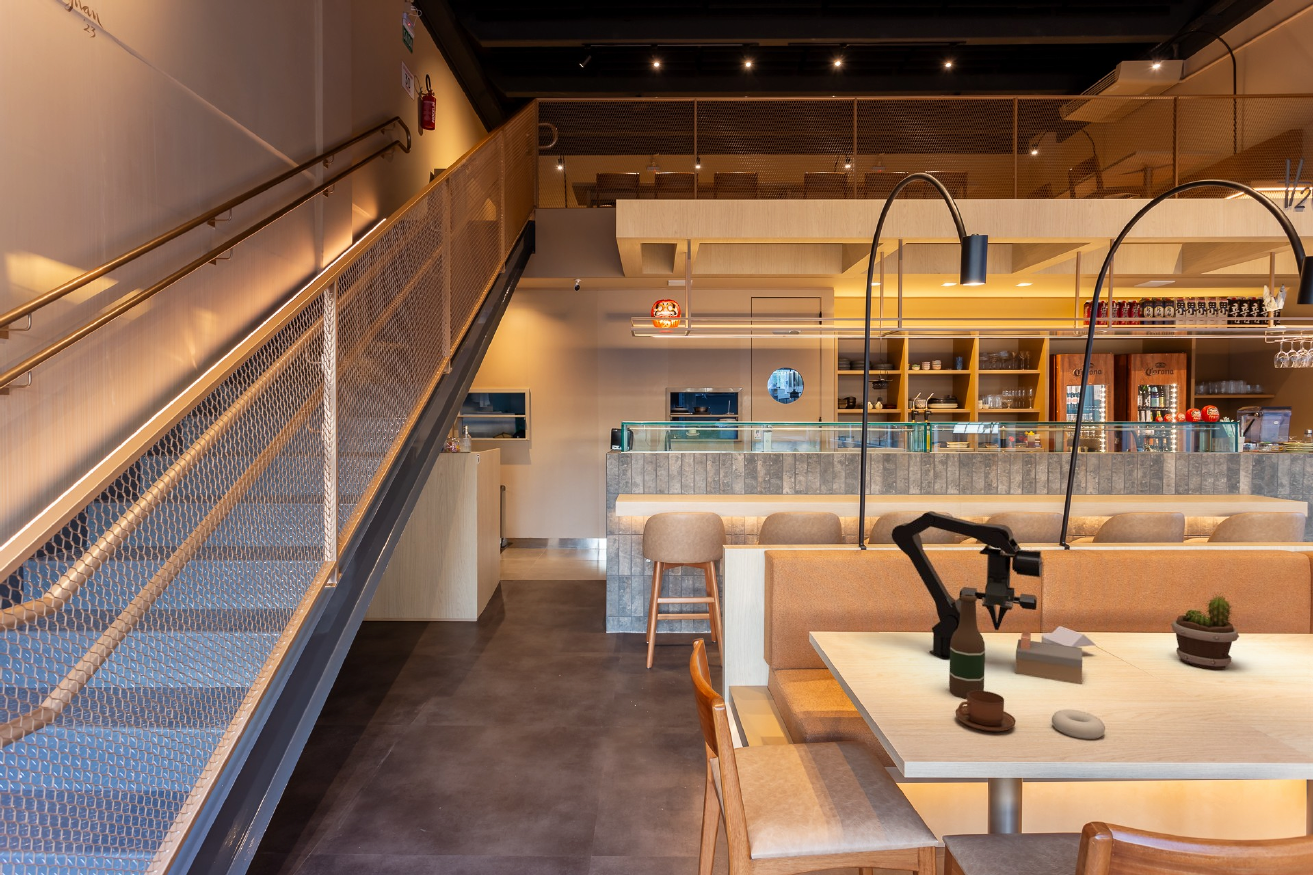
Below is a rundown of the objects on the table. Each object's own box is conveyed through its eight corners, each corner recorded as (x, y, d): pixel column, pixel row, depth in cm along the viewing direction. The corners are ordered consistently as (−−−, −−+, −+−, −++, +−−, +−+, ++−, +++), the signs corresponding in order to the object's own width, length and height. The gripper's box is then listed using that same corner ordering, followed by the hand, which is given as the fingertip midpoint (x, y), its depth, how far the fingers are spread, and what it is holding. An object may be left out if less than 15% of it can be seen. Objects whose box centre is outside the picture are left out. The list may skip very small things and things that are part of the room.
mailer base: (1015, 673, 195) (1016, 653, 195) (1017, 662, 204) (1018, 643, 204) (1081, 683, 188) (1082, 662, 188) (1081, 672, 197) (1081, 652, 197)
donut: (1070, 719, 167) (1041, 726, 162) (1071, 704, 167) (1041, 710, 162) (1115, 737, 158) (1085, 745, 153) (1116, 720, 158) (1086, 728, 153)
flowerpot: (1179, 668, 200) (1181, 594, 199) (1164, 652, 214) (1166, 582, 214) (1245, 676, 195) (1248, 600, 194) (1226, 658, 209) (1228, 587, 208)
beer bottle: (982, 690, 183) (984, 592, 182) (985, 701, 176) (987, 600, 175) (948, 686, 186) (950, 590, 185) (949, 697, 178) (951, 597, 178)
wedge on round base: (1095, 656, 210) (1059, 642, 222) (1096, 633, 210) (1059, 620, 222) (1069, 659, 207) (1034, 645, 220) (1070, 635, 207) (1034, 622, 220)
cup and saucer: (989, 740, 155) (990, 711, 155) (943, 719, 166) (943, 691, 166) (1027, 729, 161) (1028, 701, 160) (980, 709, 171) (981, 683, 171)
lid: (1015, 657, 194) (1016, 639, 194) (1018, 645, 205) (1018, 628, 204) (1082, 667, 187) (1082, 648, 187) (1081, 654, 197) (1082, 636, 197)
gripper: (957, 573, 199) (955, 631, 199) (1036, 582, 190) (1034, 643, 190) (962, 566, 208) (961, 621, 209) (1037, 574, 199) (1036, 632, 200)
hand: (996, 629), depth 202 cm, fingers closed
